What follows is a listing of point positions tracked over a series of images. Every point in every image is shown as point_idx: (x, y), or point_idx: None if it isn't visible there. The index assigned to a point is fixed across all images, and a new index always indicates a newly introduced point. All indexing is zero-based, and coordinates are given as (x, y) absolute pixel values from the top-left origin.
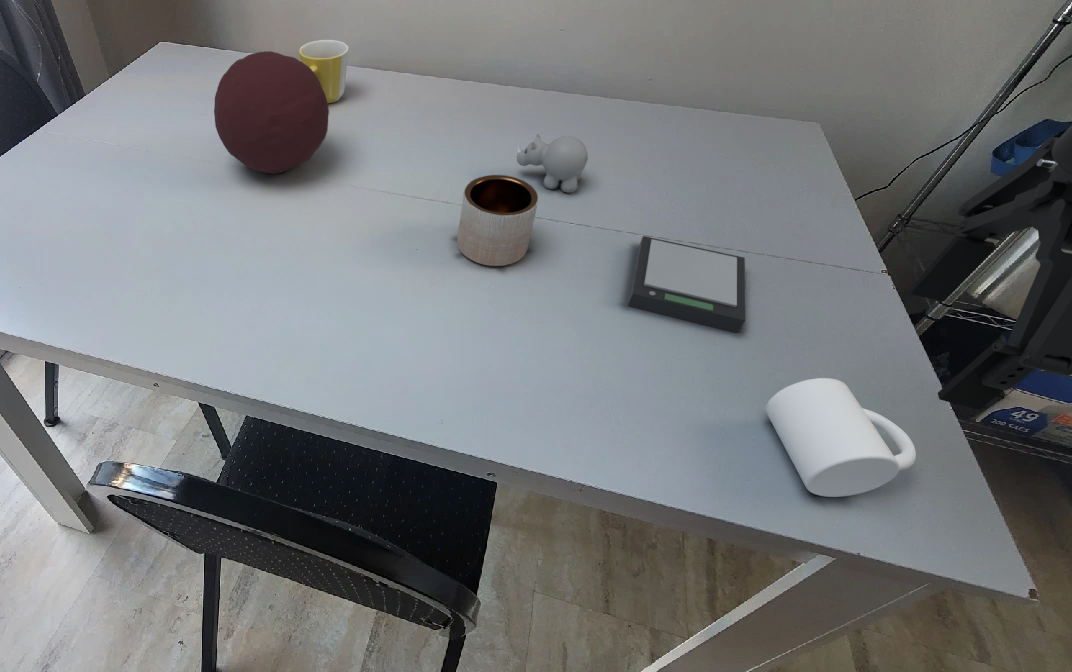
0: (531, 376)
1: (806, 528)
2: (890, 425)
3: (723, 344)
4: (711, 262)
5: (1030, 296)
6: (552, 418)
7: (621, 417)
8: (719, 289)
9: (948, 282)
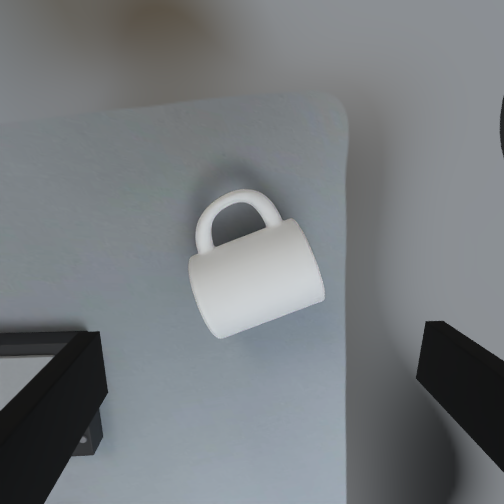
0: (251, 488)
1: (340, 270)
2: (214, 213)
3: (116, 343)
4: None
5: None
6: (294, 464)
7: (270, 417)
8: (29, 376)
9: (72, 392)
